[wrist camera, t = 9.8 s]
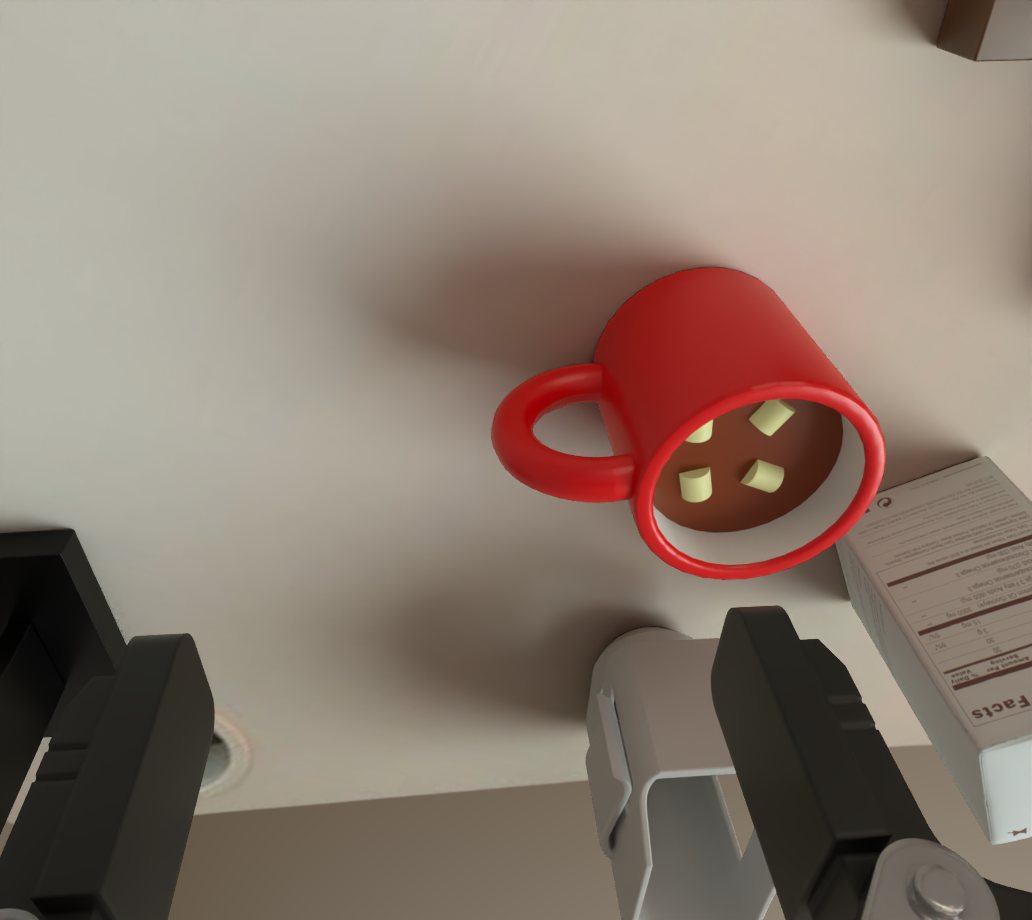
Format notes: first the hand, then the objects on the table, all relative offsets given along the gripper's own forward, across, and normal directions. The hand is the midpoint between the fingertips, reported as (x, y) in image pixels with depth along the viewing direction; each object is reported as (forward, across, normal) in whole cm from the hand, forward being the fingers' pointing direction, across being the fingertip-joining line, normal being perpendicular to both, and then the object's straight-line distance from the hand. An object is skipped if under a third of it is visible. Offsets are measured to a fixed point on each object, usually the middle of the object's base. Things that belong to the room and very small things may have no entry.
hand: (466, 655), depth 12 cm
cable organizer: (+18, -10, +23) cm, 31 cm away
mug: (+18, -7, +6) cm, 21 cm away
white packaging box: (+18, -22, +15) cm, 32 cm away
